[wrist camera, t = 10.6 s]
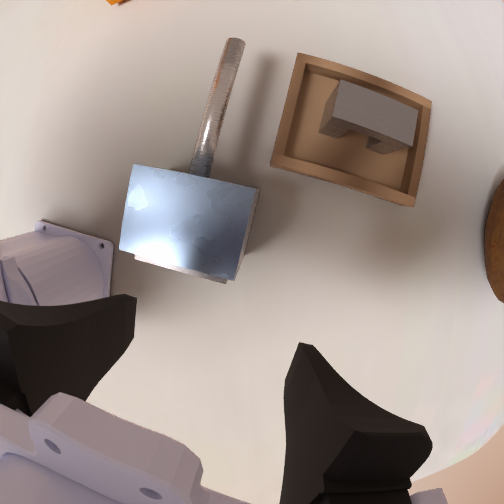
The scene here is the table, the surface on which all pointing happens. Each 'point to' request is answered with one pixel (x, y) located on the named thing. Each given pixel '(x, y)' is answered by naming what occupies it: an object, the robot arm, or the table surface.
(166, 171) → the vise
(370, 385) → the table surface
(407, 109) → the block
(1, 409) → the robot arm
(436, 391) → the table surface
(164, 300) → the table surface
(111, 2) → the bracket
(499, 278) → the potato
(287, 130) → the tray
